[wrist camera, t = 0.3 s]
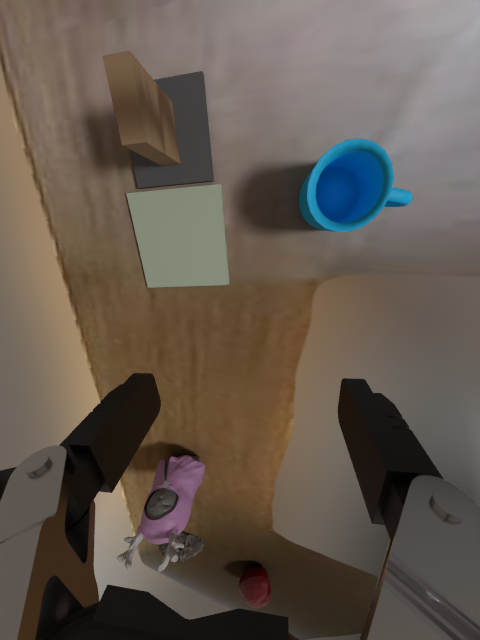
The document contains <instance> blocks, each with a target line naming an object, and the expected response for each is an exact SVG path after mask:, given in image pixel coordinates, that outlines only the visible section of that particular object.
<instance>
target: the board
mask: <svg viewBox="0 0 480 640" xmlns="http://www.w3.org/2000/svg"><path fill="white" fill-rule="evenodd" d="M126 194H127V198H128V203H129V207H130V212H131V216H132V220H133V225H134V229H135V234H136V238H137V242H138V247H139V251H140V256H141V260H142V264H143V269H144V273H145V278H146V282H147V286H148V287H178V286H210V285H229V272H228V260H227V248H226V237H225V225H224V213H223V201H222V189H221V184H216V185H206V186H196V187H186V188H176V189H166V190H156V191H146V192H136V193H126Z"/></svg>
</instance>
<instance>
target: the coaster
mask: <svg viewBox="0 0 480 640" xmlns="http://www.w3.org/2000/svg"><path fill="white" fill-rule="evenodd" d="M154 81H155V82H156V83H157V85H158V86H159V87H160V88H161V89H162V91H163V92H164V93H165V94H166V95H167V97H168V98H169V99H170V100H171V101H172V107H173V114H174V122H175V129H176V136H177V143H178V150H179V157H180V164H177V165H169V166H161V165H159V164H157V163H155V162H153V161H151V160H149V159H147V158H145V157H144V156H142V155H140V154H138V153H136V152H134V151H132V150H130V153H131V158H132V162H133V167H134V172H135V177H136V182H137V186H138V188H139V189H142V188H152V187H161V186H171V185H181V184H191V183H201V182H211V181H214V179H213V168H212V158H211V147H210V137H209V126H208V116H207V105H206V95H205V84H204V74H203V72H202V71H201V72H195V73H190V74H184V75H178V76H173V77H167V78H162V79H156V80H154Z"/></svg>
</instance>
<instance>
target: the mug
mask: <svg viewBox="0 0 480 640" xmlns="http://www.w3.org/2000/svg"><path fill="white" fill-rule="evenodd" d="M393 179H394V176H393V168H392V163H391V161H390V159H389V157H388V155H387V153H386V151H385V150H384V149H383V148H381V147H380V146H379V145H378V144H377V143H375V142H372V141H369V140H365V139H352V140H346V141H344V142H342V143H340V144H338V145H335V146H333V147H332V148H331V149H330V150H329V151H328V152H326V153H325V154H324V155H323V156H322V157H321V158H320V160H319V161H318V162H317V164H316V165H315V166H314V168H313V169H312V171H311V172H310V173H309V175H308V176H307V178H306V179H305V181H304V182H303V184H302V187H301V190H300V193H299V207H300V211H301V215H302V216H303V218H304V219H305V221H306V222H307V223H308V224H310V225H311V226H312V227H314V228H317V229H321V230H326V231H334V232H347V231H352V230H355V229H358V228H361V227H363V226H364V225H366V224H367V223H369V222H370V221H371V220H373V219H374V218H375V217H376V216H377V215H378V214H379V212H380V211H381V210H382V209H383V208H384V207H400V206H406V205H408V204H409V203H410V202H411V200H412V194H411V193H410V192H409V191H406V190H402V189H397V188H392V184H393Z"/></svg>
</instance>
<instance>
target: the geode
mask: <svg viewBox="0 0 480 640" xmlns="http://www.w3.org/2000/svg"><path fill="white" fill-rule="evenodd" d="M176 540H178V541H180V542H182V543H183V544H184V548H175V549H174V551H175V553H176V554H177V555H178V560H177V561H178V562H183V561H185V560H187V559H188V558H190V557H191V556H195V555H197V553H200V552H201V551H203V550H202V547H203V546H204V545H203V542H204V540H203V539H202V538H200V537H197V536H195V535H191V534H188V533H184V532H181V533H180V534H179V535H178V536H177V538H176ZM168 545H169V543H163V544H161V545H160V551H161V552H162V556H164V555H165V552H166V549H167V547H168Z"/></svg>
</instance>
